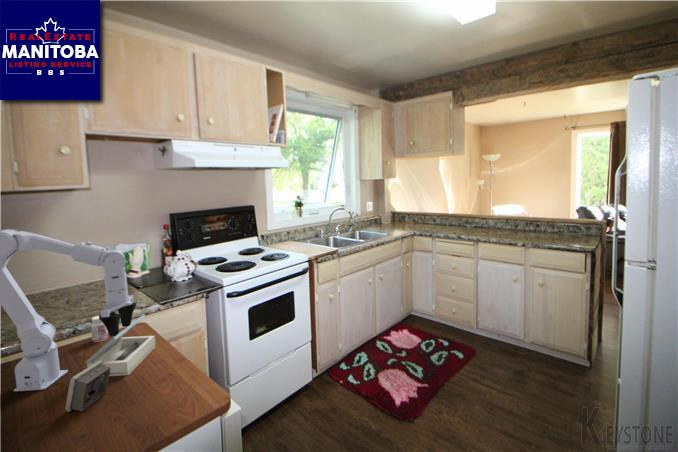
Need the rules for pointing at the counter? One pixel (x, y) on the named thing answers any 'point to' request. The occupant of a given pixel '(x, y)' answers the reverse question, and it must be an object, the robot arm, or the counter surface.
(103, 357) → the base
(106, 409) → the counter surface
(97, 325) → the pill bottle
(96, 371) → the electrical switch
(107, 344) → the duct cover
